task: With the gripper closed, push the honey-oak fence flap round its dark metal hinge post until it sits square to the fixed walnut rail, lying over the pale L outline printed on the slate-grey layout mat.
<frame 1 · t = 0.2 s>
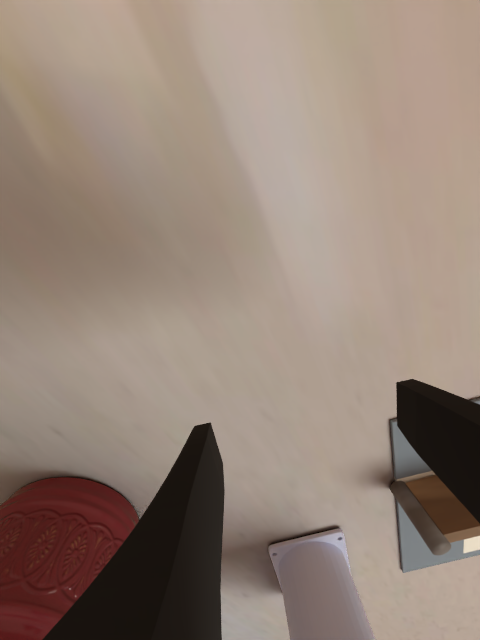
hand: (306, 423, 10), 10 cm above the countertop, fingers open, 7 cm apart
canister: (75, 521, 24), on the countertop
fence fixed: (477, 467, 25), resting on layout mat
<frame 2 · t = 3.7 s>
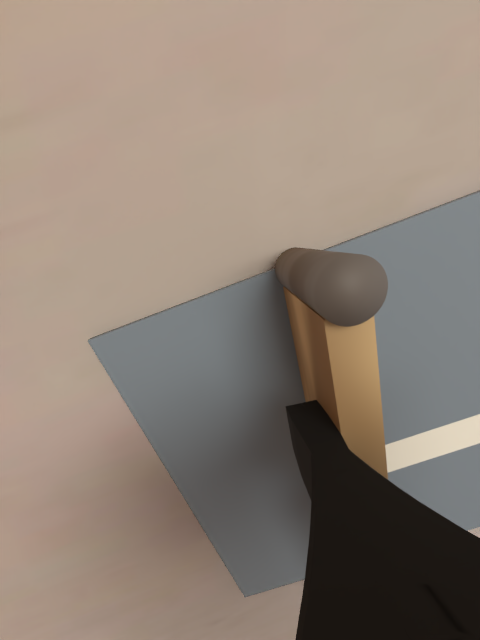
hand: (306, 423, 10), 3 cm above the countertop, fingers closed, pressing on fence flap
fence flap: (334, 406, 9), point 3 cm above the countertop, hinge at 6.5°, touching gripper
layout mat: (372, 428, 14), on the countertop
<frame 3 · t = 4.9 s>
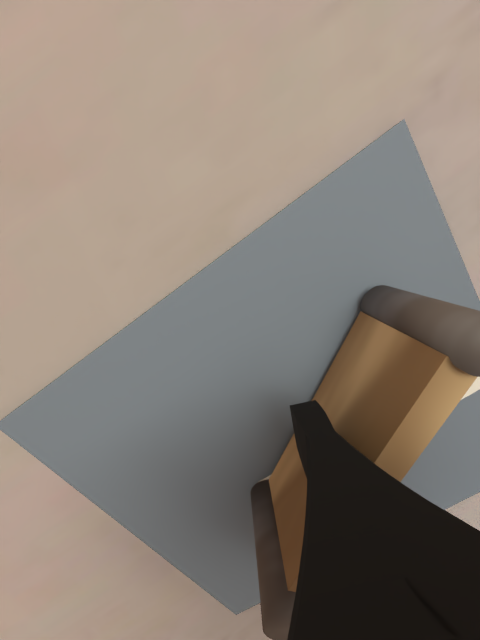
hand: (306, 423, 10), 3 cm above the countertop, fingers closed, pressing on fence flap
fence flap: (350, 432, 10), point 3 cm above the countertop, hinge at 57.3°, touching gripper
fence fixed: (268, 492, 14), resting on layout mat
layout mat: (292, 439, 14), on the countertop
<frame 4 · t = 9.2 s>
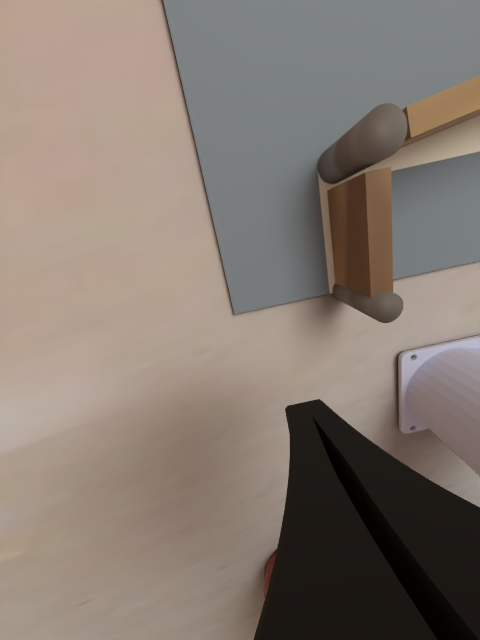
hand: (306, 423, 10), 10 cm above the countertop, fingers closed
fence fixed: (333, 165, 16), resting on layout mat
layout mat: (376, 119, 15), on the countertop
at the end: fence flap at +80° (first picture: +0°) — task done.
